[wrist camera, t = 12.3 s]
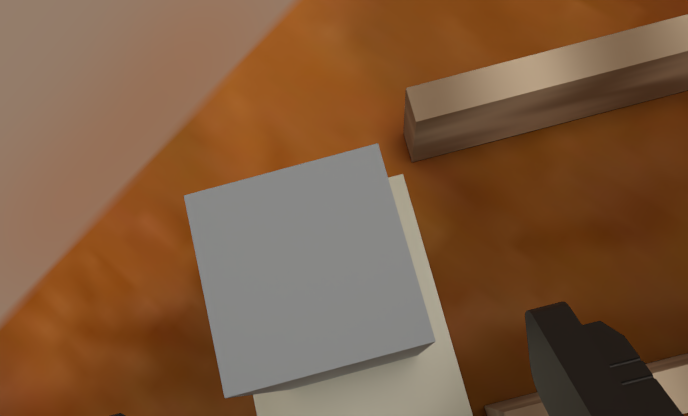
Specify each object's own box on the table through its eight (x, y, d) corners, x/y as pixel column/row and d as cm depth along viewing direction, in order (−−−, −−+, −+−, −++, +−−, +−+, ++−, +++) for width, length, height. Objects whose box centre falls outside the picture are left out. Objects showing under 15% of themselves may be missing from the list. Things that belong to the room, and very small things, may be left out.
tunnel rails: (761, 39, 25) (830, -23, 21) (901, 336, 22) (1013, 327, 18) (403, 133, 25) (405, 88, 21) (494, 442, 22) (517, 456, 18)
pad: (402, 177, 24) (402, 174, 24) (491, 487, 21) (494, 489, 21) (220, 225, 24) (217, 222, 24) (285, 540, 21) (283, 544, 21)
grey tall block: (382, 230, 23) (377, 143, 15) (417, 355, 22) (435, 341, 13) (260, 263, 23) (183, 195, 15) (289, 389, 22) (224, 398, 13)
